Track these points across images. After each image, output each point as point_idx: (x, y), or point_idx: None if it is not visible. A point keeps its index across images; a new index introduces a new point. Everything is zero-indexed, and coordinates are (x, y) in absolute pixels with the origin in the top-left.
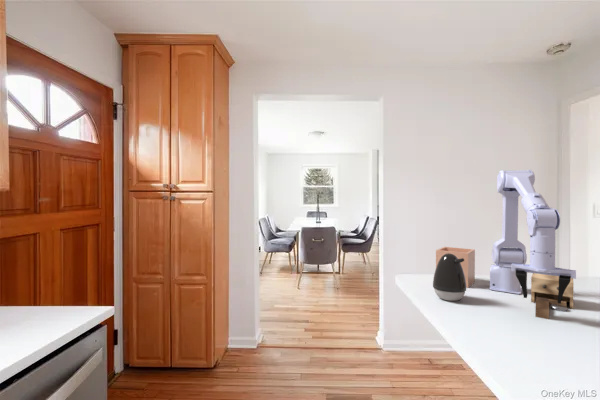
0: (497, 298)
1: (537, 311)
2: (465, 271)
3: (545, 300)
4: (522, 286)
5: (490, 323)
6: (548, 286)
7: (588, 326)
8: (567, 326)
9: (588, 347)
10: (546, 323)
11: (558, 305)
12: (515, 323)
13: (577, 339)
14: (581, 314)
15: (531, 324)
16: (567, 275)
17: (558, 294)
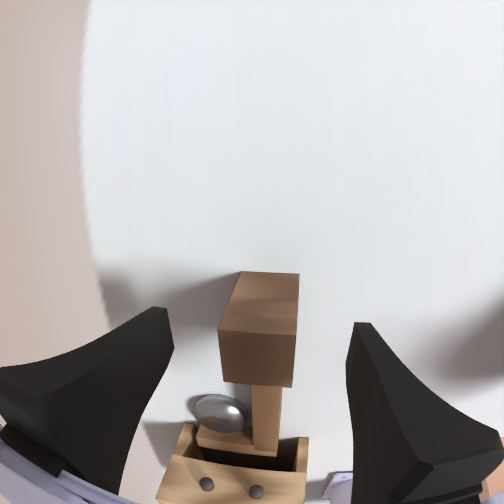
0: None
1: (288, 289)
2: (493, 485)
3: (237, 340)
4: (404, 375)
5: (473, 34)
6: (242, 492)
7: (109, 265)
8: (163, 210)
9: (102, 4)
10: (246, 192)
11: (220, 424)
12: (386, 89)
13: (125, 54)
14: None
15: (313, 121)
16: (16, 456)
17: (130, 337)
